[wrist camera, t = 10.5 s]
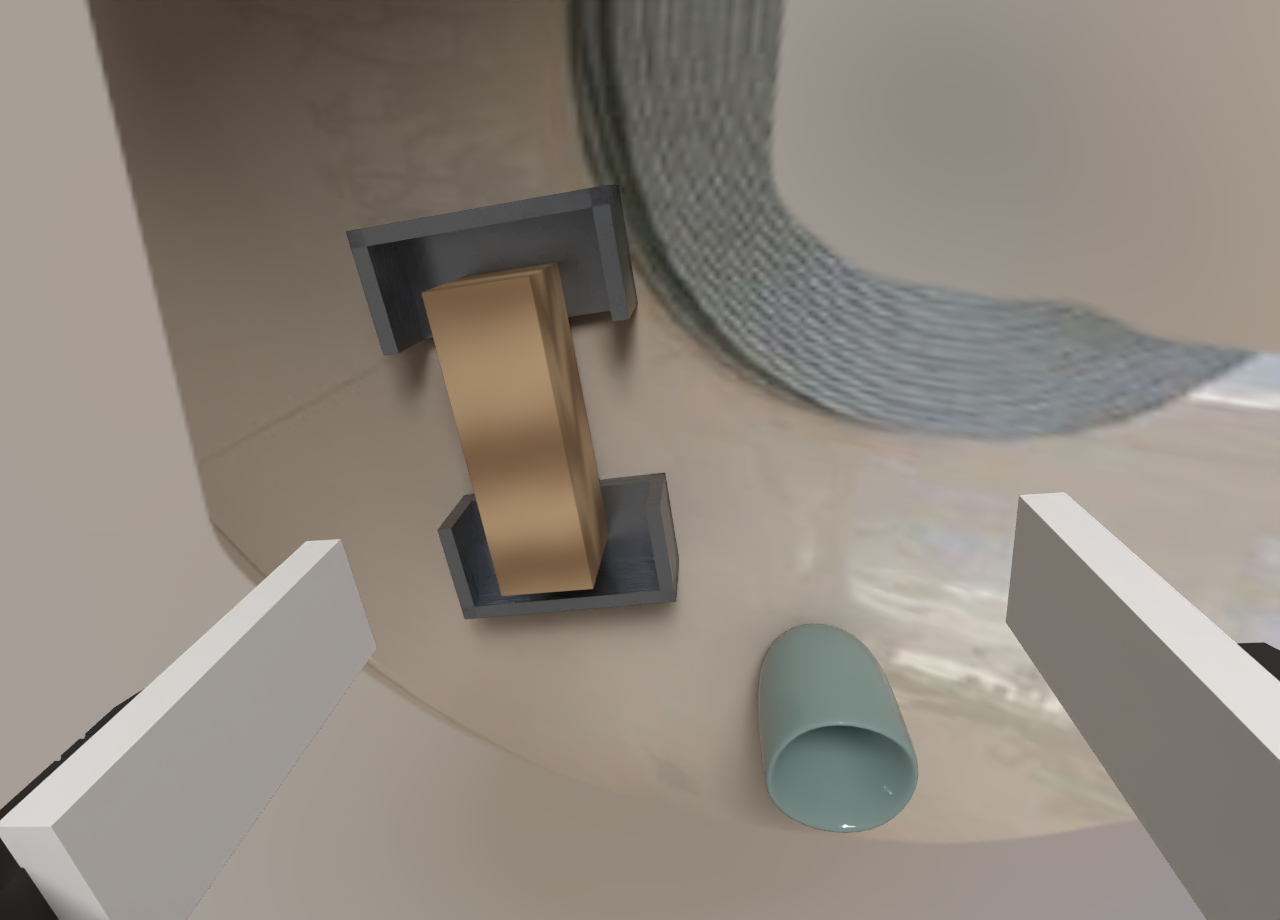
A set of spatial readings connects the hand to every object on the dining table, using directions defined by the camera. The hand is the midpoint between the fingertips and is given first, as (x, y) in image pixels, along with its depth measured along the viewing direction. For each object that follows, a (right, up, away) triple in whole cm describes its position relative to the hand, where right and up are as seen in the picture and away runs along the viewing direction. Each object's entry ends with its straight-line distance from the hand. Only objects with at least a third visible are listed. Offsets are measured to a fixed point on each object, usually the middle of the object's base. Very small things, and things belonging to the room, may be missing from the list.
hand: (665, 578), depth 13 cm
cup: (+11, -10, +31) cm, 34 cm away
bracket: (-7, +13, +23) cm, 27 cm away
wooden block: (-6, +5, +25) cm, 26 cm away
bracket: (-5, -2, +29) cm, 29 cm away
